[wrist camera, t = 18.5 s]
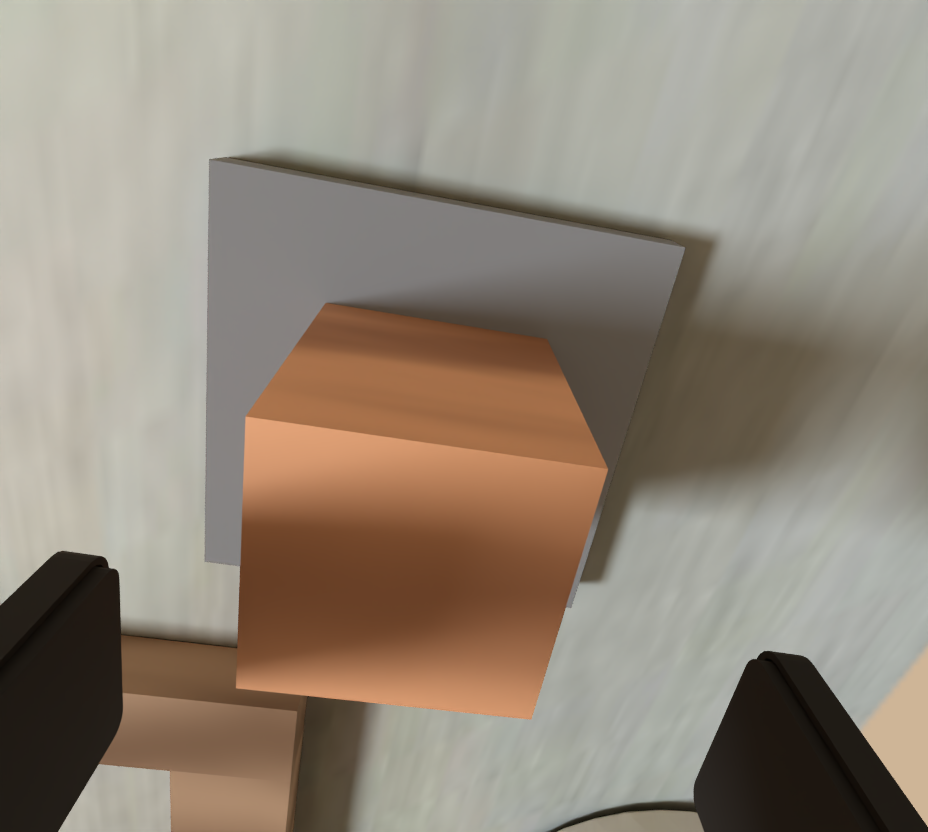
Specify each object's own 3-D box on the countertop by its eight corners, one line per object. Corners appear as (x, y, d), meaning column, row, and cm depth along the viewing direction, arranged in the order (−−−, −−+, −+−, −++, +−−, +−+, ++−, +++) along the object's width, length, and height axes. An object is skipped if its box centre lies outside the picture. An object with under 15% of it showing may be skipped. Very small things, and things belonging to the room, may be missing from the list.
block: (325, 303, 14) (245, 416, 8) (546, 338, 14) (608, 469, 9) (309, 495, 16) (236, 687, 10) (503, 521, 16) (531, 719, 11)
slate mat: (671, 239, 14) (685, 247, 13) (565, 584, 18) (571, 608, 18) (225, 157, 13) (209, 159, 13) (217, 539, 18) (204, 561, 17)
